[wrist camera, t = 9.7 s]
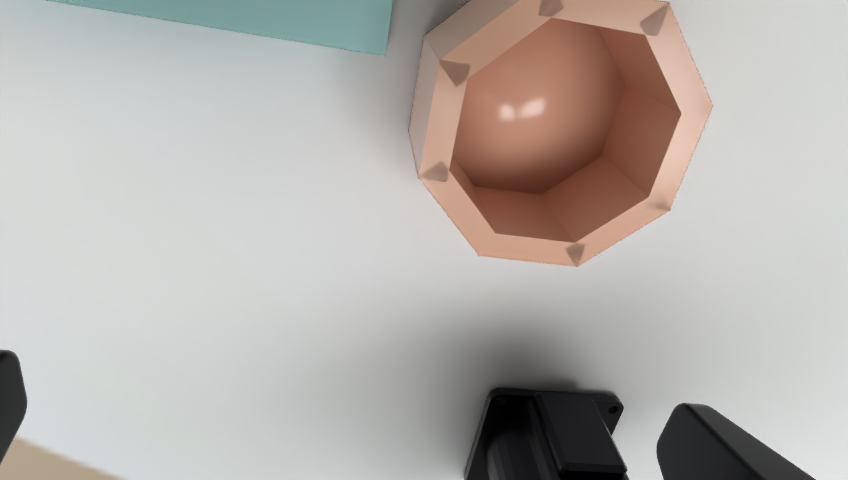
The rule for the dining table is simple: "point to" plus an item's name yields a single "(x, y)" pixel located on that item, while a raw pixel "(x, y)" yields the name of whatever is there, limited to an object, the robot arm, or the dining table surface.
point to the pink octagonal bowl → (555, 123)
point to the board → (274, 18)
